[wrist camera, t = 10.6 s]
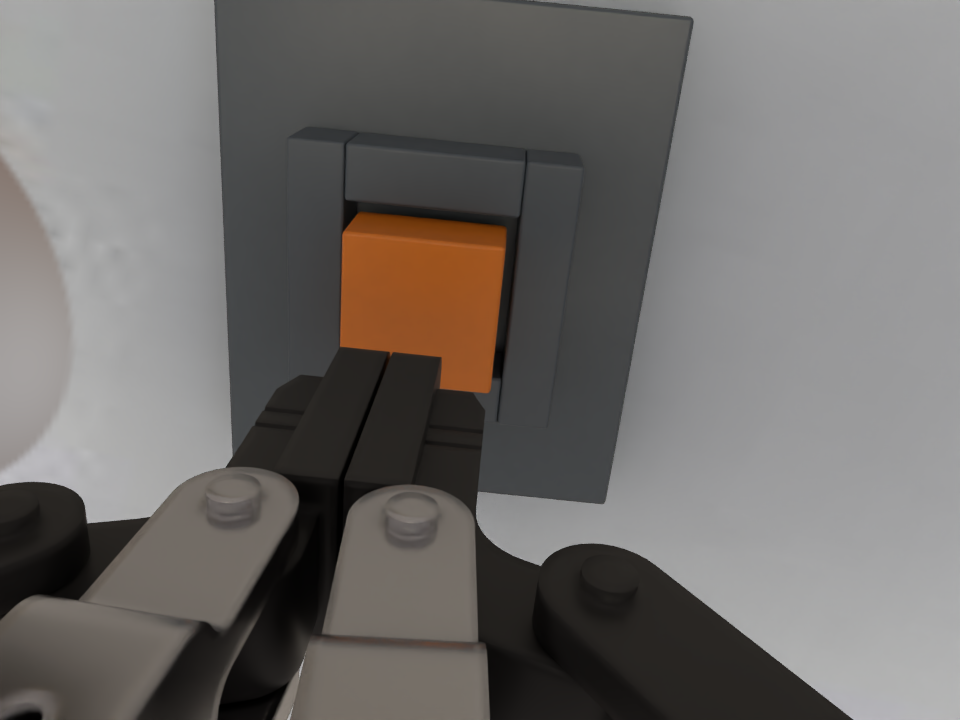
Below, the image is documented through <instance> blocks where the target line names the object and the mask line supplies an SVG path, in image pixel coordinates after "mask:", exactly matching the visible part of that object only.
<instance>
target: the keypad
mask: <svg viewBox="0 0 960 720" xmlns="http://www.w3.org/2000/svg"><path fill="white" fill-rule="evenodd" d="M214 5H215V30H216V54H217V79H218V104H219V128H220V153H221V178H222V202H223V227H224V251H225V276H226V301H227V325H228V350H229V374H230V399H231V424H232V448H233V456H234V454H235V452H236V451H237V449H238V448H239V446H240V445H241V443H242V442H243V440H244V438H245V437H246V435H247V434H248V432H249V431H250V429H251V428H252V426H255V421H256V420H257V418H258V417H259V415H260V414H261V412H262V411H264V410H265V406H266V404H267V403H268V401H269V400H270V398H271V397H272V395H273V394H274V392H275V390H276V389H277V388H279V387H280V386H282V385H284V384H286V383H287V382H289V381H291V380H292V379H294V378H296V377H297V376H299V375H310V376H320V377H324V375H325V373H326V371H327V370H328V368H329V366H330V364H331V362H332V360H333V358H334V357H335V355H336V353H337V351H338V349H339V348H340V321H341V274H342V234H343V232H344V230H345V229H346V228H347V226H348V225H349V224H350V223H351V221H352V220H353V219H354V218H355V216H356V215H357V214H358V213H359V212H361V211H362V212H371V213H381V214H391V215H401V216H411V217H421V218H431V219H441V220H450V221H460V222H470V223H480V224H490V225H500V226H505V227H506V229H507V235H506V251H505V261H504V270H503V279H502V289H501V298H500V307H499V317H498V326H497V335H496V344H495V354H494V363H493V372H492V382H491V390H490V392H489V393H478V392H472V393H473V394H474V395H475V396H476V398H477V399H478V401H479V402H480V404H481V405H482V407H483V408H484V409H485V420H484V431H483V441H482V451H481V462H480V472H479V483H478V491H479V492H489V493H498V494H508V495H518V496H527V497H537V498H547V499H557V500H566V501H576V502H586V503H595V504H604V503H605V501H606V495H607V490H608V484H609V479H610V474H611V468H612V463H613V457H614V452H615V446H616V441H617V436H618V430H619V425H620V419H621V414H622V408H623V403H624V398H625V392H626V387H627V381H628V376H629V370H630V365H631V360H632V354H633V349H634V343H635V338H636V332H637V327H638V322H639V316H640V311H641V305H642V300H643V295H644V289H645V284H646V278H647V273H648V267H649V262H650V257H651V251H652V246H653V240H654V235H655V229H656V224H657V219H658V213H659V208H660V202H661V197H662V191H663V186H664V181H665V175H666V170H667V164H668V159H669V153H670V148H671V143H672V137H673V132H674V126H675V121H676V115H677V110H678V105H679V99H680V94H681V88H682V83H683V77H684V72H685V67H686V61H687V56H688V50H689V45H690V39H691V34H692V29H693V23H694V21H693V18H691V17H688V16H678V15H668V14H658V13H648V12H638V11H628V10H618V9H608V8H598V7H588V6H578V5H568V4H558V3H548V2H538V1H528V0H214ZM443 390H449V389H443ZM453 391H459V390H453ZM462 392H469V391H462Z"/></svg>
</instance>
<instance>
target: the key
mask: <svg viewBox="0 0 960 720" xmlns="http://www.w3.org/2000/svg"><path fill="white" fill-rule="evenodd" d="M506 235H507V229H506V227H505V226H500V225H490V224H480V223H470V222H460V221H450V220H441V219H431V218H421V217H411V216H401V215H391V214H381V213H371V212H362V211H361V212H359V213H358V214H357V215H356V216H355V218H354V219H353V220H352V221H351V223H350V224H349V225H348V226H347V228H346V229H345V230H344V232H343V234H342V274H341V321H340V347H350V348H359V349H369V350H378V351H388V352H390V355H392V353H393V352H398V353H408V354H417V355H427V356H436V357H441V358H442V368H441V382H440V389H449V390H459V391H469V392H478V393H489V392H490V390H491V382H492V372H493V363H494V354H495V344H496V335H497V326H498V317H499V307H500V298H501V289H502V279H503V270H504V261H505V251H506Z"/></svg>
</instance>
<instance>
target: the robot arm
mask: <svg viewBox="0 0 960 720" xmlns="http://www.w3.org/2000/svg"><path fill="white" fill-rule="evenodd" d="M441 368H442V358H441V357H436V356H427V355H417V354H408V353H398V352H393V353H392V355H390V352H388V351H378V350H369V349H359V348H350V347H340V348H339V349H338V351H337V353H336V355H335V357H334V358H333V360H332V362H331V364H330V366H329V368H328V370H327V371H326V373H325V375H324V377H320V376H310V375H299V376H297V377H296V378H294V379H292V380H291V381H289V382H287V383H286V384H284V385H282V386H280V387H279V388H277V389H276V390H275V392H274V394H273V395H272V397H271V398H270V400H269V401H268V403H267V404H266V406H265V410H264V411H262V412H261V414H260V415H259V417H258V418H257V420H256V421H255V426H252V428H251V429H250V431H249V432H248V434H247V435H246V437H245V438H244V440H243V442H242V443H241V445H240V446H239V448H238V449H237V451H236V452H235V454H234V456H233V457H232V459H231V460H230V462H229V463H228V465H227V466H226V468H222V469H216V470H212V471H208V472H205V473H202V474H200V475H197V476H194V477H193V478H191V479H189V480H187V481H185V482H184V483H182V484H181V485H179V486H178V487H177V488H176V489H175V490H174V491H173V492H172V493H171V494H170V495H169V497H168V498H167V499H166V500H165V501H164V502H163V503H162V505H161V506H160V507H159V508H158V509H157V510H156V511H155V513H154V514H153V515H152V516H151V517H147V518H140V519H130V520H120V521H109V522H98V523H88V524H87V519H86V512H85V505H84V502H83V500H82V498H81V497H80V496H79V495H78V494H77V493H76V492H74V491H73V490H71V489H69V488H66V487H64V486H60V485H57V484H52V483H44V482H23V483H14V484H6V485H2V486H0V720H287V719H288V716H289V714H290V712H291V709H292V707H293V710H292V714H291V718H290V720H853V719H852V718H850V717H849V716H848V715H846V714H845V713H844V712H843V711H841V710H840V709H839V708H838V707H836V706H835V705H834V704H832V703H831V702H830V701H829V700H827V699H826V698H825V697H823V696H822V695H821V694H820V693H818V692H817V691H816V690H814V689H813V688H812V687H811V686H809V685H808V684H807V683H805V682H804V681H803V680H802V679H800V678H799V677H798V676H797V675H795V674H794V673H793V672H791V671H790V670H789V669H788V668H786V667H785V666H784V665H782V664H781V663H780V662H779V661H777V660H776V659H775V658H773V657H772V656H771V655H770V654H768V653H767V652H766V651H765V650H763V649H762V648H761V647H759V646H758V645H757V644H756V643H754V642H753V641H752V640H750V639H749V638H748V637H747V636H745V635H744V634H743V633H741V632H740V631H739V630H738V629H736V628H735V627H734V626H733V625H731V624H730V623H729V622H727V621H726V620H725V619H724V618H722V617H721V616H720V615H718V614H717V613H716V612H715V611H713V610H712V609H711V608H709V607H708V606H707V605H706V604H704V603H703V602H702V601H700V600H699V599H698V598H697V597H695V596H694V595H693V594H692V593H690V592H689V591H688V590H686V589H685V588H684V587H683V586H681V585H680V584H679V583H677V582H676V581H675V580H674V579H672V578H671V577H670V576H668V575H667V574H666V573H665V572H663V571H662V570H661V569H660V568H658V567H657V566H656V565H654V564H653V563H651V562H650V561H648V560H647V559H645V558H643V557H641V556H640V555H638V554H636V553H633V552H631V551H628V550H625V549H622V548H619V547H615V546H610V545H604V544H578V545H572V546H569V547H565V548H562V549H560V550H558V551H556V552H554V553H553V554H552V555H550V556H549V557H548V558H547V559H546V560H545V561H544V563H543V564H542V566H539V565H536V564H533V563H530V562H527V561H524V560H522V559H519V558H517V557H514V556H512V555H510V554H508V553H506V552H505V551H503V550H501V549H500V548H498V547H497V546H495V545H494V544H493V543H492V542H491V541H490V540H489V539H488V538H487V537H486V536H485V535H484V534H483V532H482V531H481V529H480V527H479V525H478V523H477V519H476V503H477V493H478V483H479V472H480V462H481V451H482V441H483V431H484V420H485V409H484V408H483V407H482V405H481V404H480V402H479V401H478V399H477V398H476V396H475V395H474V394H473V393H472V392H462V391H453V390H443V389H440V382H441ZM305 653H306V654H305ZM304 656H305V658H304ZM303 659H304V663H303V667H302V671H301V676H300V680H299V668H300V666H301V664H302V662H303Z"/></svg>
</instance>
